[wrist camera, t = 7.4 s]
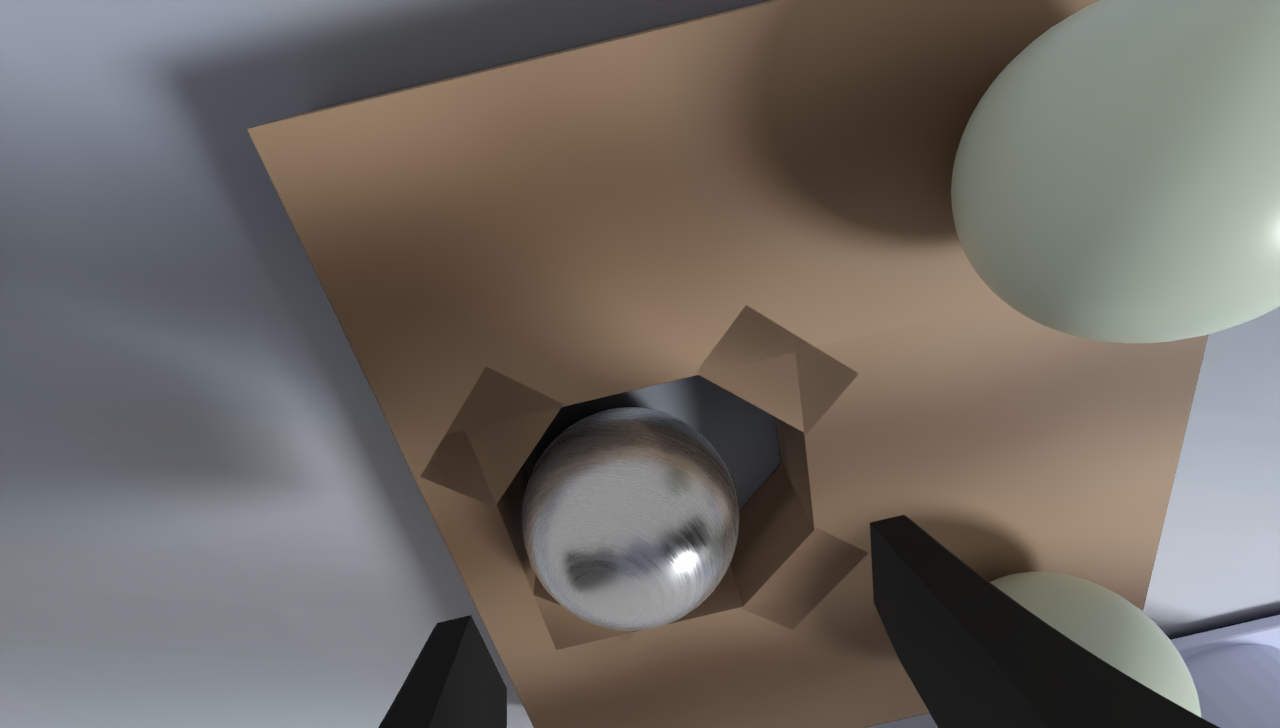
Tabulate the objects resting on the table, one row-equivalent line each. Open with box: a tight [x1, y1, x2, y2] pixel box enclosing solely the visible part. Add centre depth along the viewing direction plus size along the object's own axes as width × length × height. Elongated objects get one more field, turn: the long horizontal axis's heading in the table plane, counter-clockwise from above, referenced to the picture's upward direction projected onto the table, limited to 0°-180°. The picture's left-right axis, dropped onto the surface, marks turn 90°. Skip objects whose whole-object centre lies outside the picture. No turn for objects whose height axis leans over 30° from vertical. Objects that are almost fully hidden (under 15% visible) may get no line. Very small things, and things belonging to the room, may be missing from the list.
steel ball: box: [522, 407, 739, 631], centre depth 14 cm, size 5×5×5 cm
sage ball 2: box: [990, 571, 1201, 717], centre depth 14 cm, size 5×5×5 cm
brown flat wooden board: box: [247, 0, 1208, 728], centre depth 15 cm, size 18×16×2 cm
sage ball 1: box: [951, 0, 1280, 343], centre depth 9 cm, size 5×5×5 cm
